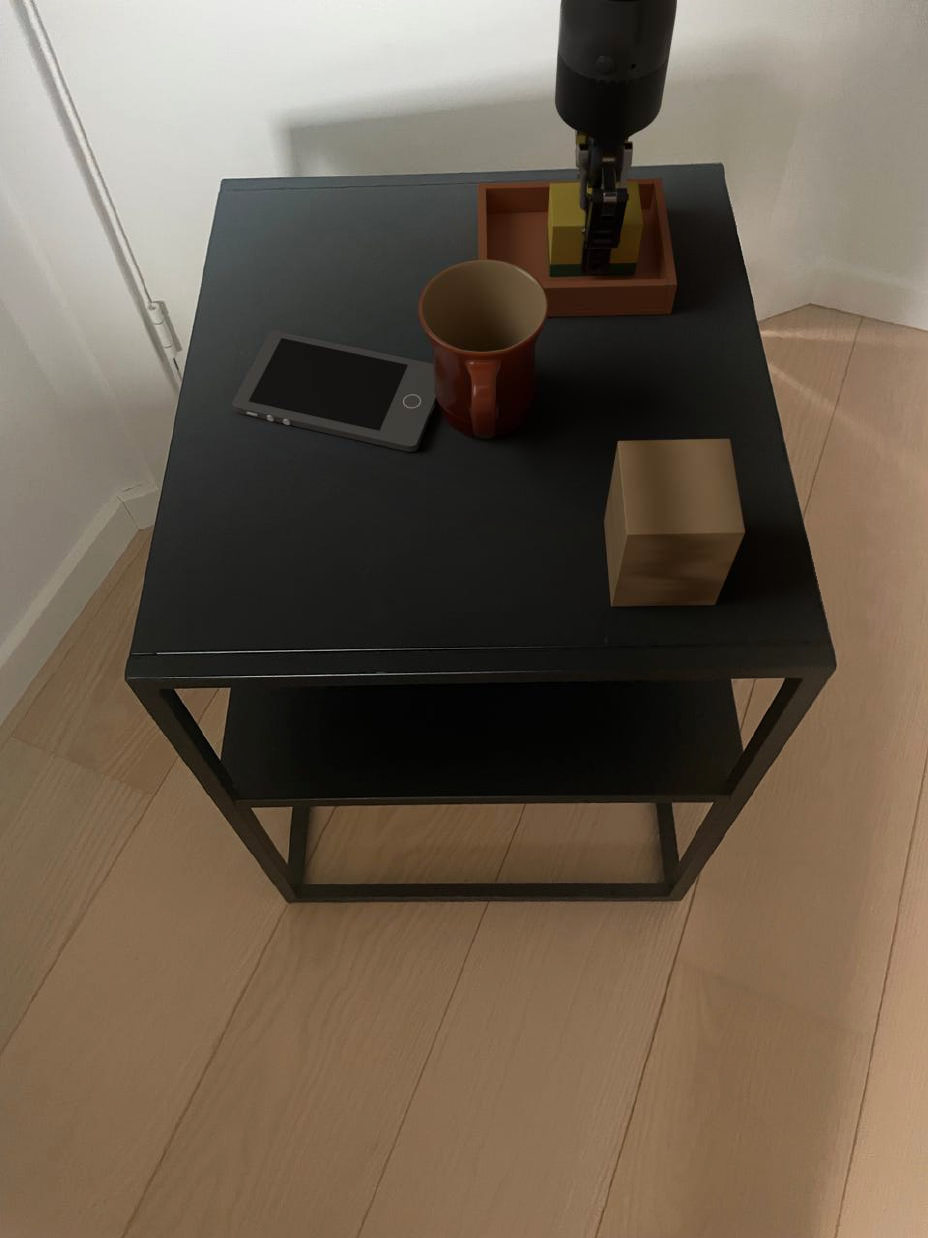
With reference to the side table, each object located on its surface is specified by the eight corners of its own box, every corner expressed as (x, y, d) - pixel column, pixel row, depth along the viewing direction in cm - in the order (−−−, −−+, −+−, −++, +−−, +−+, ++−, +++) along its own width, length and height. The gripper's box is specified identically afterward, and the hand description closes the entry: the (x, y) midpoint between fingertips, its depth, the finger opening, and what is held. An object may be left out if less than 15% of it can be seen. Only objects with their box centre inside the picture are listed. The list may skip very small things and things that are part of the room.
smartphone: (230, 412, 73) (228, 406, 73) (271, 335, 77) (269, 329, 76) (415, 454, 71) (414, 448, 70) (448, 372, 74) (448, 366, 74)
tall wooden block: (703, 518, 68) (730, 438, 60) (715, 605, 64) (745, 532, 56) (603, 520, 68) (617, 440, 60) (610, 607, 65) (626, 534, 57)
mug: (429, 363, 75) (420, 259, 66) (541, 362, 75) (546, 257, 66) (424, 488, 70) (413, 393, 61) (545, 487, 69) (552, 392, 60)
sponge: (630, 232, 80) (638, 180, 76) (634, 274, 78) (643, 223, 74) (547, 234, 81) (549, 182, 76) (549, 276, 78) (552, 226, 74)
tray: (656, 208, 83) (661, 177, 80) (670, 314, 77) (677, 284, 74) (478, 213, 83) (477, 182, 80) (479, 318, 77) (478, 289, 75)
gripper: (681, 107, 60) (645, 310, 75) (661, -23, 67) (630, 187, 82) (562, 110, 61) (549, 312, 76) (553, -19, 67) (543, 189, 82)
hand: (592, 246), depth 79 cm, fingers closed on sponge, 5 cm apart
